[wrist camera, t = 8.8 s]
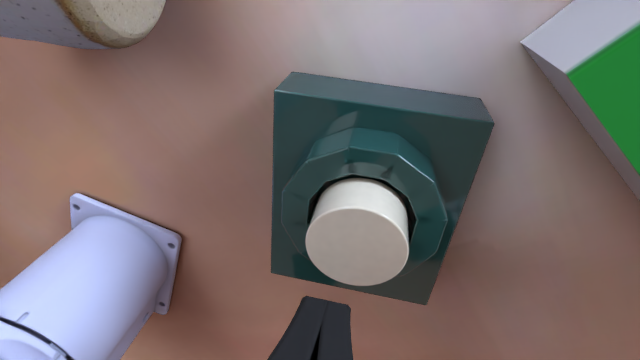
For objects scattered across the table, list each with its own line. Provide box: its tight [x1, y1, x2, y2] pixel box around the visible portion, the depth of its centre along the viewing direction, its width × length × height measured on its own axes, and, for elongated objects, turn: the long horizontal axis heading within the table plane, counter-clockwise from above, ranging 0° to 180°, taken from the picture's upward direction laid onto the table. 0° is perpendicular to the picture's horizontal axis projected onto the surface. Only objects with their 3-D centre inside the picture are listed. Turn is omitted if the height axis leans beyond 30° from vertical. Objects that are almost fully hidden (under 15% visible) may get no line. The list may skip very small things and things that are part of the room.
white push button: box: [305, 178, 409, 286], centre depth 15 cm, size 4×4×2 cm
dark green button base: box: [271, 72, 494, 305], centre depth 18 cm, size 11×9×5 cm
